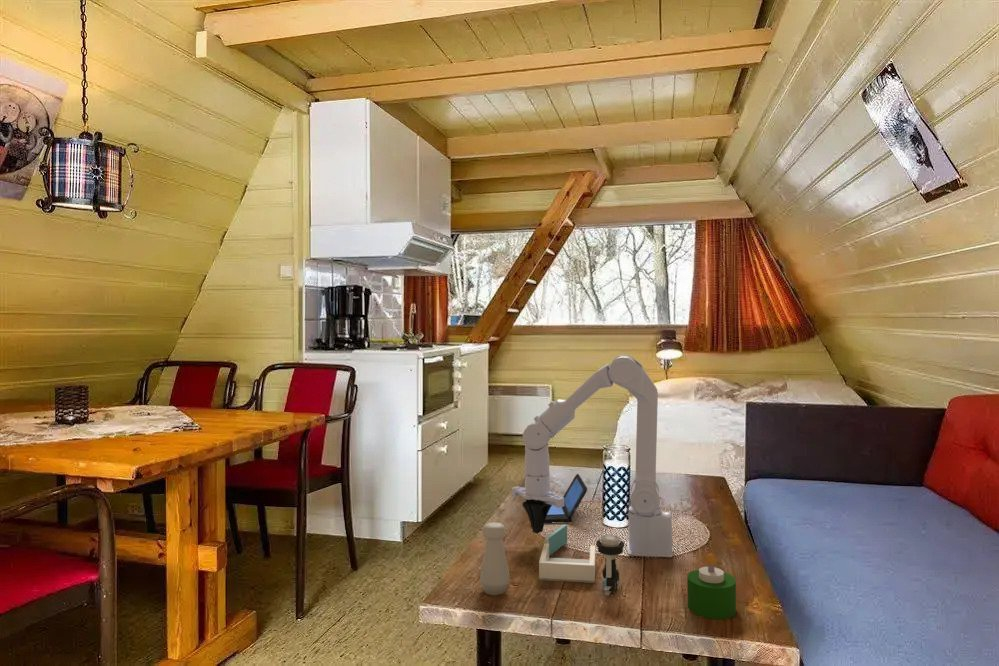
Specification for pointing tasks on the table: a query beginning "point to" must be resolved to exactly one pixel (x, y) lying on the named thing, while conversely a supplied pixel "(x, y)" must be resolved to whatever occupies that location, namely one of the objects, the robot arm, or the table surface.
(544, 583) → the table surface
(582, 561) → the bay
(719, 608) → the candle
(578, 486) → the handheld game console
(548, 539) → the gate
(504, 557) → the salt shaker
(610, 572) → the push button
